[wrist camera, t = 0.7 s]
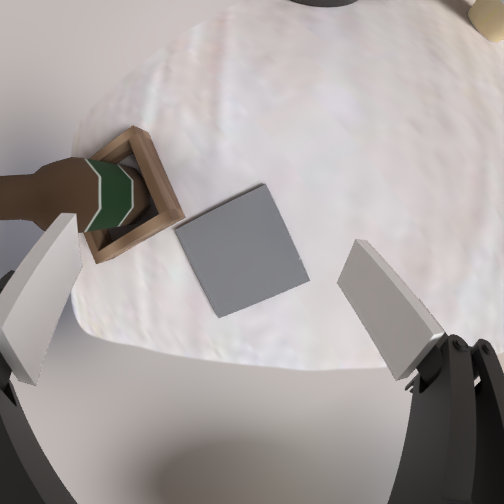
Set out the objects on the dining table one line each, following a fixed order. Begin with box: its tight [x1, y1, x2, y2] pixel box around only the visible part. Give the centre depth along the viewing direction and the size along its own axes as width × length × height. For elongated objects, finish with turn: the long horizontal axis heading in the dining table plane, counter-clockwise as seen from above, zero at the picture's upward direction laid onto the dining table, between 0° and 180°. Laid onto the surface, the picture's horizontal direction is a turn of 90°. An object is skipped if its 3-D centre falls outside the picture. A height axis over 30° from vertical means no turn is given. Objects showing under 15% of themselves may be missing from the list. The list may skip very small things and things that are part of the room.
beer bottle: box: [0, 157, 150, 233], centre depth 22 cm, size 8×8×24 cm
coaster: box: [175, 184, 310, 318], centre depth 32 cm, size 12×12×1 cm
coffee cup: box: [468, 0, 504, 43], centre depth 15 cm, size 9×9×12 cm
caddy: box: [83, 126, 186, 264], centre depth 31 cm, size 12×12×4 cm
